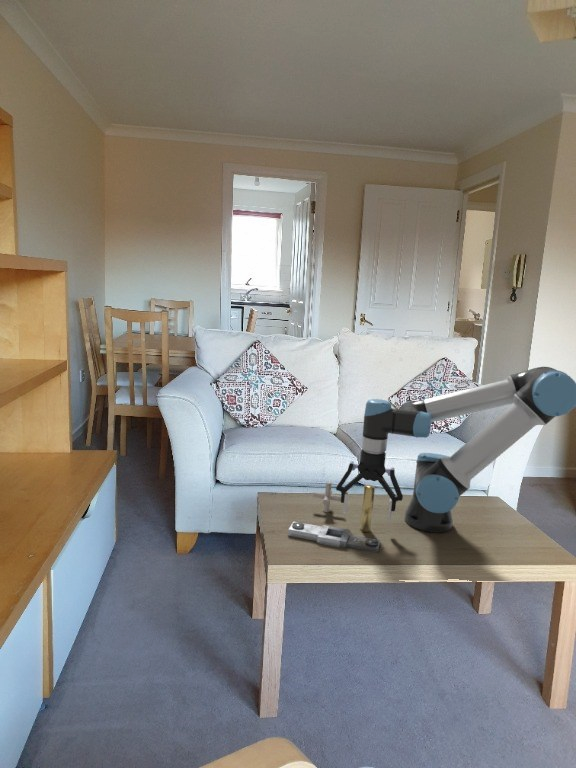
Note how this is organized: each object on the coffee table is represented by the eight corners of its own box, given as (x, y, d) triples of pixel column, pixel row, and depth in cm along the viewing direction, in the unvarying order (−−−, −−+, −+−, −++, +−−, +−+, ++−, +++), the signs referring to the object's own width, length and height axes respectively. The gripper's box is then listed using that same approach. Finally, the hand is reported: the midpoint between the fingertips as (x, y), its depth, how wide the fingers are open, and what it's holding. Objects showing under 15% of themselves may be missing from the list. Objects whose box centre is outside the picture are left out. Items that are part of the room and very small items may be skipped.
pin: (370, 528, 165) (375, 485, 163) (369, 532, 162) (374, 489, 160) (360, 526, 166) (365, 484, 164) (359, 530, 163) (363, 487, 161)
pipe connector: (339, 519, 170) (342, 489, 169) (309, 514, 172) (311, 485, 171) (342, 507, 180) (345, 479, 178) (313, 503, 182) (316, 475, 180)
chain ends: (380, 541, 156) (381, 533, 156) (377, 554, 148) (378, 545, 148) (293, 526, 163) (294, 518, 162) (286, 537, 155) (287, 528, 154)
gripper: (415, 453, 161) (408, 518, 164) (335, 441, 167) (329, 505, 170) (415, 459, 154) (407, 528, 157) (330, 447, 160) (324, 514, 163)
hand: (366, 516), depth 163 cm, fingers open, 13 cm apart
